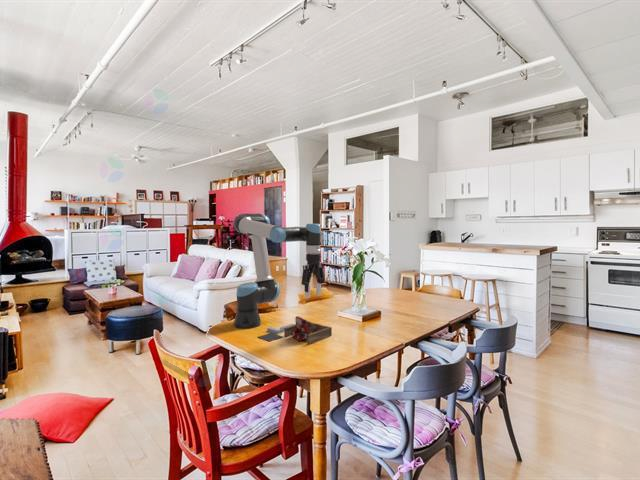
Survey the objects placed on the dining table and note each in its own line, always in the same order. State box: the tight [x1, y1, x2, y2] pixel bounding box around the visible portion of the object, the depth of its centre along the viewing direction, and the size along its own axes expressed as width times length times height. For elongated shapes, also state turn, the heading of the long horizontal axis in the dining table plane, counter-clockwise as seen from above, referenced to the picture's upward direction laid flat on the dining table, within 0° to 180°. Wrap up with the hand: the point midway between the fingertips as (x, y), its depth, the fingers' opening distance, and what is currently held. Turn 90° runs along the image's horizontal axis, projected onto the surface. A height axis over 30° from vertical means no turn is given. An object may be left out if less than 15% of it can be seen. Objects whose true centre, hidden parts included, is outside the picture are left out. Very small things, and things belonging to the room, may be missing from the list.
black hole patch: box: [257, 332, 283, 342], centre depth 184 cm, size 9×9×1 cm
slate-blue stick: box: [266, 326, 282, 335], centre depth 193 cm, size 8×2×2 cm, turn 48°
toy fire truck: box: [291, 316, 312, 342], centre depth 182 cm, size 7×12×10 cm, turn 31°
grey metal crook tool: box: [279, 323, 296, 333], centre depth 196 cm, size 6×10×2 cm, turn 139°
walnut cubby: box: [283, 320, 333, 345], centre depth 186 cm, size 17×17×4 cm
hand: (313, 296), depth 188 cm, fingers open, 8 cm apart
